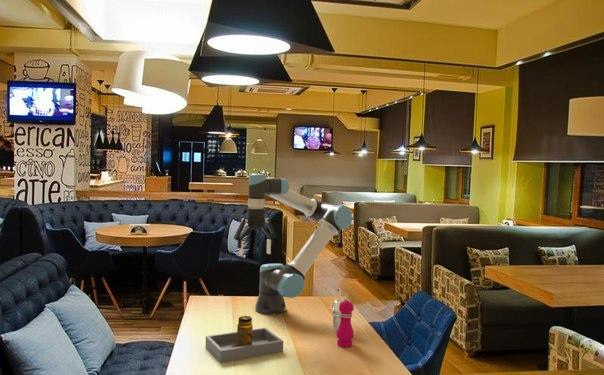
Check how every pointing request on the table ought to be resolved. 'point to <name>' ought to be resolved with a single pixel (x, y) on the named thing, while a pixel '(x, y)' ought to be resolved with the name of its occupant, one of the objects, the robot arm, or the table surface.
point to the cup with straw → (336, 312)
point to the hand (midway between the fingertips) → (254, 254)
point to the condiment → (244, 332)
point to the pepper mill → (345, 324)
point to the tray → (261, 345)
